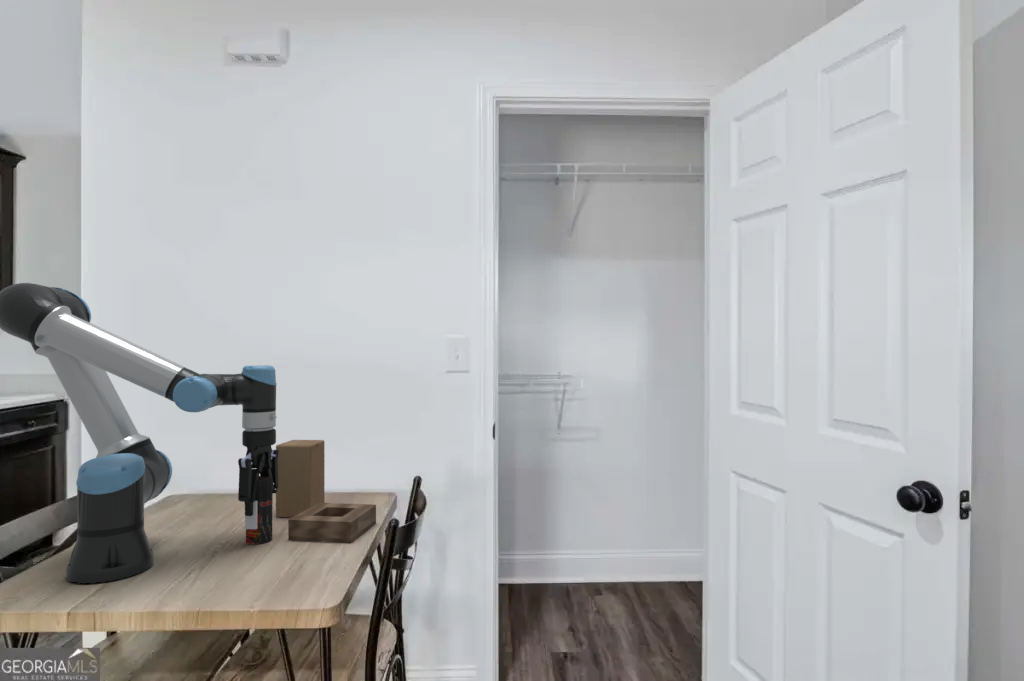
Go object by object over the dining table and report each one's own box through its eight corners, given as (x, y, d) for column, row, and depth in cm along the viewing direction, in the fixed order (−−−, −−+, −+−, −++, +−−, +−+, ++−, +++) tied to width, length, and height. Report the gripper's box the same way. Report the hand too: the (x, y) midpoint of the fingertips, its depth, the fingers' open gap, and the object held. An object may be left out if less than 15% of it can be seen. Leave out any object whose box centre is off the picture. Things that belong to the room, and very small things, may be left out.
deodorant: (277, 539, 143) (277, 477, 144) (255, 546, 138) (255, 482, 139) (262, 535, 147) (262, 474, 147) (240, 541, 142) (240, 479, 142)
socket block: (288, 540, 142) (288, 519, 143) (319, 521, 158) (319, 502, 158) (351, 543, 140) (351, 522, 140) (376, 523, 156) (376, 504, 156)
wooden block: (325, 508, 171) (325, 439, 171) (310, 518, 161) (310, 445, 161) (292, 508, 172) (292, 439, 172) (275, 517, 162) (275, 445, 162)
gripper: (251, 434, 133) (250, 537, 133) (293, 424, 152) (293, 514, 151) (220, 434, 134) (220, 536, 134) (266, 423, 153) (266, 513, 152)
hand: (259, 524), depth 143 cm, fingers closed on deodorant, 6 cm apart
